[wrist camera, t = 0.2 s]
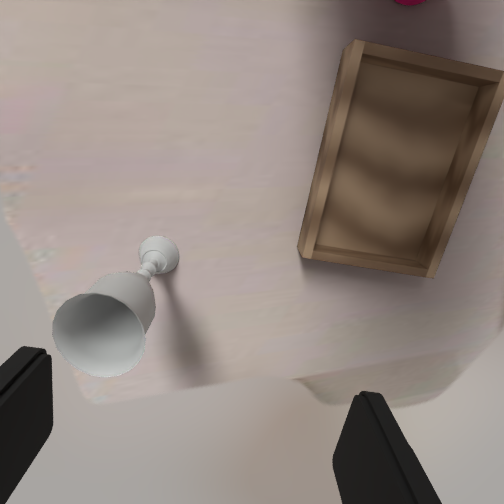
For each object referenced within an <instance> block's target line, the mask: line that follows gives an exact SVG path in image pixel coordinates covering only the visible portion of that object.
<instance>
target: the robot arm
mask: <svg viewBox="0 0 504 504" xmlns="http://www.w3.org/2000/svg"><path fill="white" fill-rule="evenodd" d="M52 427H53V394H52V358H51V355H47V353H46V350H45V349H42V348H34V347H27V346H23V347H21V348H20V349H18V350H17V351H16V352H15V353H14V354H13V355H12V356H11V357H10V358H9V359H8V360H7V361H5V363H3V364H2V365H1V366H0V504H5V503H6V502H7V500H8V499H9V497H10V495H11V494H12V492H13V491H14V489H15V488H16V486H17V485H18V483H19V482H20V480H21V479H22V477H23V475H24V474H25V472H26V471H27V469H28V468H29V466H30V465H31V463H32V462H33V460H34V459H35V457H36V456H37V454H38V452H39V451H40V449H41V448H42V446H43V445H44V443H45V442H46V440H47V439H48V437H49V435H50V433H51V431H52ZM333 470H334V473H335V477H336V481H337V485H338V488H339V492H340V496H341V500H342V504H442V503H441V501H440V499H439V498H438V496H437V494H436V492H435V490H434V488H433V486H432V484H431V483H430V481H429V479H428V477H427V475H426V473H425V472H424V470H423V468H422V466H421V464H420V462H419V460H418V458H417V457H416V455H415V453H414V451H413V449H412V448H411V447H410V445H409V444H408V442H407V440H406V439H405V437H404V435H403V433H402V431H401V429H400V427H399V426H398V424H397V422H396V420H395V418H394V416H393V414H392V412H391V410H390V409H389V407H388V405H387V403H386V401H385V399H384V397H383V396H382V394H380V393H375V392H367V391H361V392H360V394H359V395H355V396H354V398H353V401H352V404H351V407H350V410H349V412H348V415H347V418H346V421H345V424H344V426H343V429H342V432H341V435H340V438H339V441H338V443H337V446H336V449H335V452H334V454H333Z"/></svg>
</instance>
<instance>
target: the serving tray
mask: <svg viewBox="0 0 504 504" xmlns="http://www.w3.org/2000/svg"><path fill="white" fill-rule="evenodd" d="M503 99H504V71H501V70H496V69H492V68H487V67H482V66H478V65H473V64H468V63H464V62H459V61H455V60H450V59H445V58H441V57H436V56H431V55H427V54H422V53H418V52H413V51H408V50H404V49H399V48H395V47H390V46H385V45H381V44H376V43H371V42H367V41H362V40H358V39H355V40H353V41H352V42H351V43H350V44H349V45H348V46H347V47H346V48H344V49H343V52H342V56H341V60H340V64H339V69H338V73H337V77H336V82H335V86H334V90H333V95H332V99H331V103H330V107H329V112H328V116H327V120H326V125H325V129H324V133H323V137H322V142H321V146H320V150H319V155H318V159H317V163H316V168H315V172H314V176H313V180H312V185H311V189H310V193H309V198H308V202H307V206H306V211H305V215H304V219H303V223H302V228H301V232H300V236H299V241H298V245H297V247H298V250H299V252H300V254H301V256H302V258H308V259H314V260H321V261H327V262H333V263H339V264H346V265H352V266H358V267H365V268H371V269H377V270H383V271H390V272H396V273H402V274H408V275H415V276H421V277H427V278H434V276H435V274H436V271H437V269H438V266H439V263H440V261H441V258H442V256H443V253H444V251H445V248H446V245H447V243H448V240H449V238H450V235H451V233H452V230H453V227H454V225H455V222H456V220H457V217H458V215H459V212H460V209H461V207H462V204H463V202H464V199H465V197H466V194H467V191H468V189H469V186H470V184H471V181H472V179H473V176H474V173H475V171H476V168H477V166H478V163H479V161H480V158H481V155H482V153H483V150H484V148H485V145H486V143H487V140H488V137H489V135H490V132H491V130H492V127H493V125H494V122H495V119H496V117H497V114H498V112H499V109H500V107H501V104H502V101H503Z"/></svg>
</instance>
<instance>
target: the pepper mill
mask: <svg viewBox="0 0 504 504" xmlns="http://www.w3.org/2000/svg"><path fill="white" fill-rule="evenodd" d="M395 1H396V2H398V3H400V4H403V5H416V4H420V3H422V2H424V1H425V0H395Z"/></svg>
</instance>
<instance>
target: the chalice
mask: <svg viewBox="0 0 504 504" xmlns="http://www.w3.org/2000/svg"><path fill="white" fill-rule="evenodd" d="M139 258H140V262H141V265H142V266H141V270H139V271H138V272H137V273H134V272H128V271H126V272H118V273H112V274H108V275H106V276H104V277H102V278H100V279H99V280H98V281H97V282H96V283H95V284H94V285H93V286H92V287H91V288H90V289H89V290H88V291H86V292H85V293H84V294H79V295H77V296H75V297H73V298H71V299H69V300H67V301H66V302H65V303H64V304H63V305H62V306H61V307H60V308H59V309H58V310H57V312H56V315H55V318H54V320H53V334H52V335H53V338H54V341H55V344H56V347H57V349H58V351H59V352H60V354H61V355H62V356H63V358H64V359H65V360H66V361H67V362H68V363H69V364H71V365H72V366H73V367H74V368H76V369H77V370H80V371H82V372H84V373H86V374H88V375H92V376H98V377H113V376H119V375H121V374H123V373H126V372H128V371H130V370H131V369H132V368H133V367H134V366H135V365H136V364H137V363H139V361H140V359H141V357H142V355H143V353H144V350H145V341H146V338H145V334H146V332H147V330H148V328H149V326H150V324H151V322H152V320H153V318H154V316H155V308H156V306H155V297H154V292H153V289H152V287H151V285H150V283H149V281H150V279H151V277H152V276H154V275H155V274H162V273H167V272H169V271H171V270H173V269H174V268H175V267H176V265H177V263H178V260H179V252H178V249H177V247H176V245H175V244H174V243H173V242H172V241H171V240H170V239H168V238H166V237H163V236H152V237H149V238H147V239H146V240H145V241H143V242H142V244H141V246H140V248H139Z"/></svg>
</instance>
